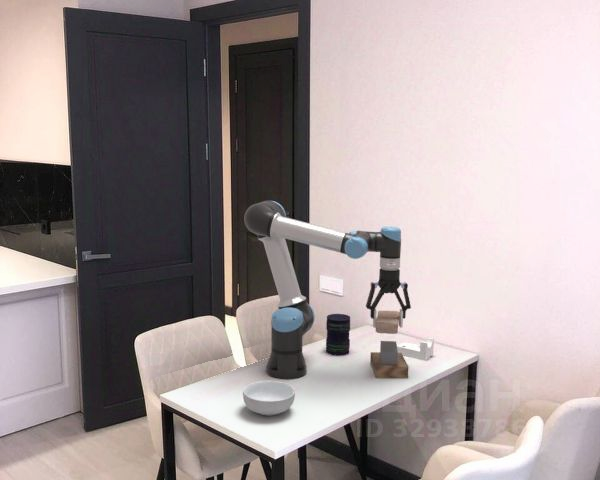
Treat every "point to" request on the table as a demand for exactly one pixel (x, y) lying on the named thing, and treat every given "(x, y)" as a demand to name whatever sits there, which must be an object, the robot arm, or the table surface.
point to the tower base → (388, 367)
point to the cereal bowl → (268, 397)
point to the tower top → (388, 353)
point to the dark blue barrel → (338, 334)
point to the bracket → (417, 349)
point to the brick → (387, 322)
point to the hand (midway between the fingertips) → (387, 326)
